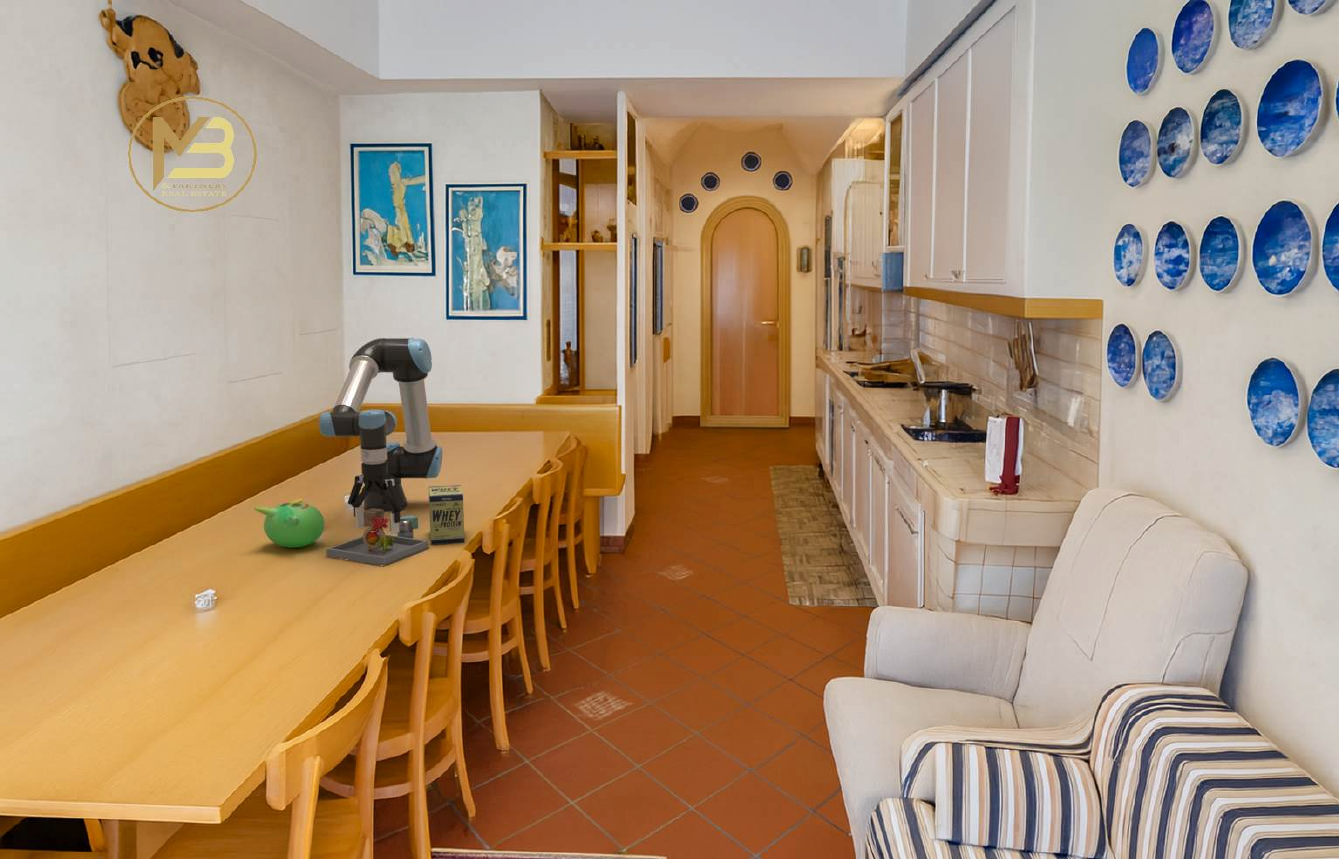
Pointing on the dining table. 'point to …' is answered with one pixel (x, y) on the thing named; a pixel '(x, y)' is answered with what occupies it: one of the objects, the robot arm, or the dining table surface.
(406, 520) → the metal cylinder
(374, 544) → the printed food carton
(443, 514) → the protein box
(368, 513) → the walnut cube
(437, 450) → the robot arm
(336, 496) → the dining table surface
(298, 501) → the green rounded blob
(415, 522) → the teal brick
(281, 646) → the dining table surface
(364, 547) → the tray
